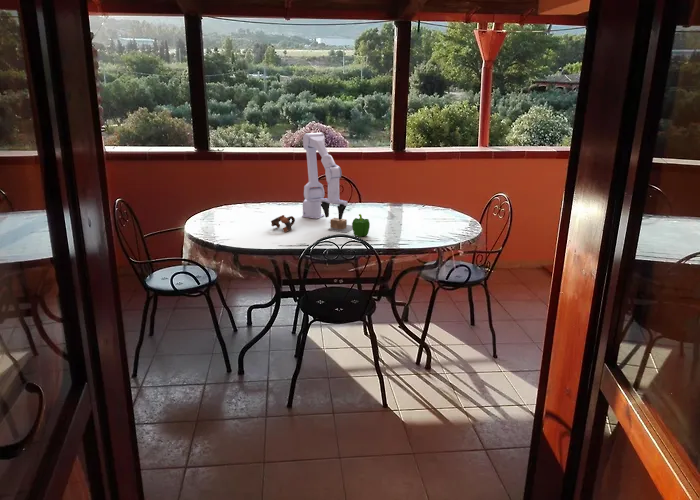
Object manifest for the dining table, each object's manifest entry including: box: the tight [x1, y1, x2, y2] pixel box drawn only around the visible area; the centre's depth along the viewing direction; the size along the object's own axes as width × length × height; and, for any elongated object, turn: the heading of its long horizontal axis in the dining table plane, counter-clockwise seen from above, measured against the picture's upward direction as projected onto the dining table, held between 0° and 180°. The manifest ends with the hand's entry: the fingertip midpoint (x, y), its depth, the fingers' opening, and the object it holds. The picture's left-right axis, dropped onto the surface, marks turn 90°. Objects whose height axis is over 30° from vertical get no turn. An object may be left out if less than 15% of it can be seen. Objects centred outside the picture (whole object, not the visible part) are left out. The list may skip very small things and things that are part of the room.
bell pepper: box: [351, 213, 371, 237], centre depth 259 cm, size 8×8×10 cm
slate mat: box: [328, 224, 353, 234], centre depth 272 cm, size 10×12×1 cm
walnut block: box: [329, 217, 348, 229], centre depth 272 cm, size 4×4×7 cm
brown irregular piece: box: [270, 214, 296, 233], centre depth 270 cm, size 12×10×8 cm
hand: (333, 218), depth 272 cm, fingers open, 7 cm apart
